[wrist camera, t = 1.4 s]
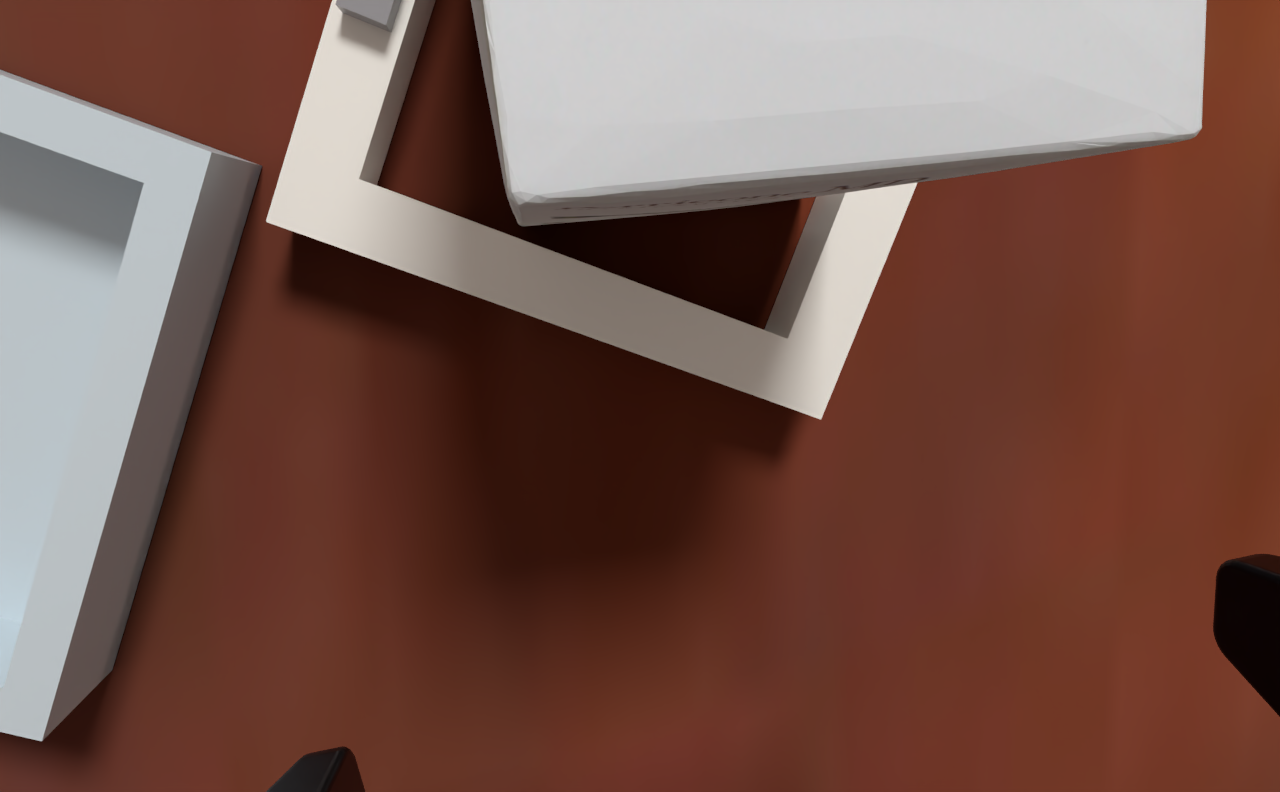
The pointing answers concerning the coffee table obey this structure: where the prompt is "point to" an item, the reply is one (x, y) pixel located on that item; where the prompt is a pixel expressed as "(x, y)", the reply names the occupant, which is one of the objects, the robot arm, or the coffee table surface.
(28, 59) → the coffee table surface
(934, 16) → the supplement box
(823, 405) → the frame
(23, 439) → the tray
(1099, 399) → the coffee table surface
